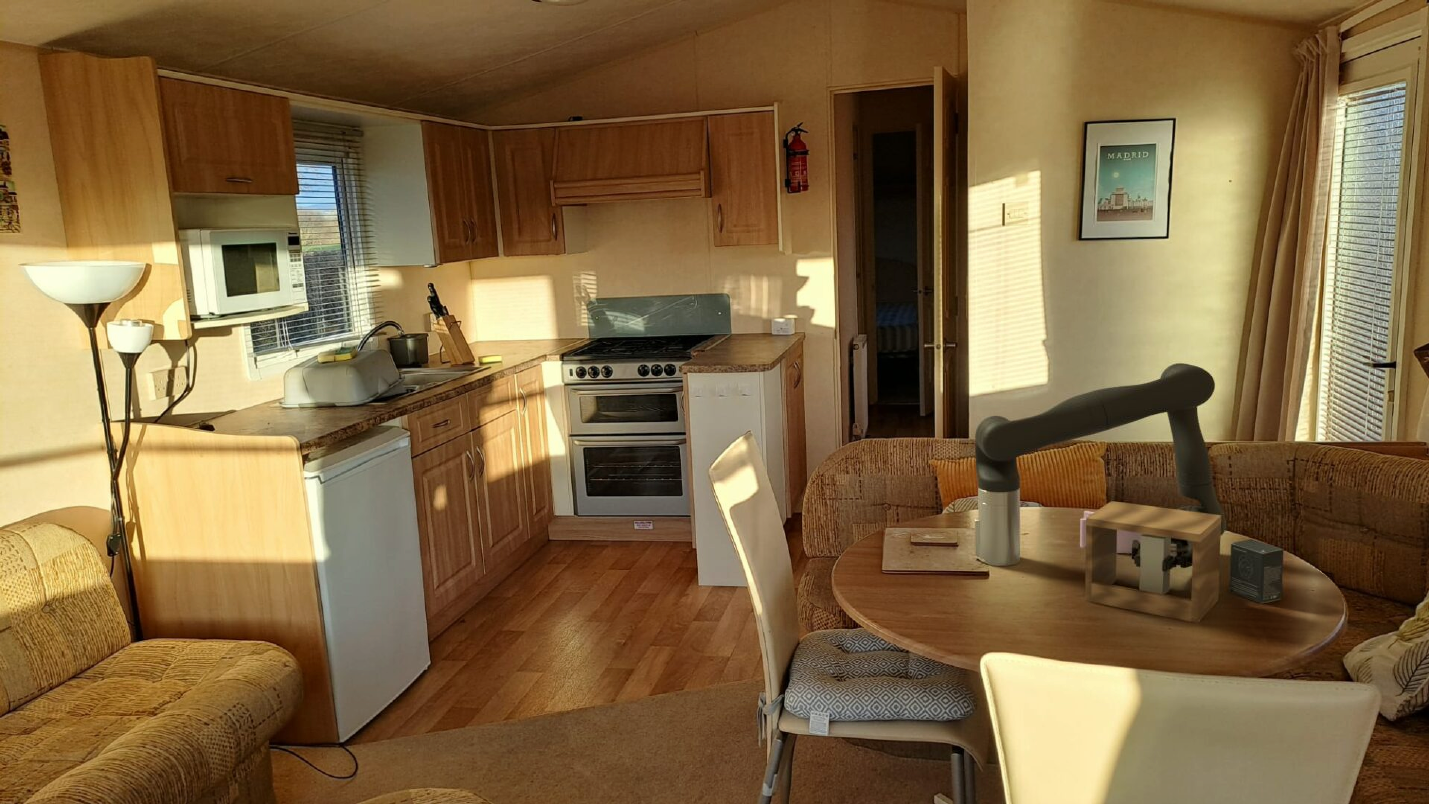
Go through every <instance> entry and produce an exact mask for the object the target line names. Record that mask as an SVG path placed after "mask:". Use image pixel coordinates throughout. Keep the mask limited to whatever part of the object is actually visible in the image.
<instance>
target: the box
mask: <svg viewBox="0 0 1429 804" xmlns="http://www.w3.org/2000/svg"><path fill="white" fill-rule="evenodd" d="M1229 567H1230V568H1229V574H1230V575H1229V592H1230V593H1231V594H1234V595H1236V596H1237V595H1238V596H1241V597H1242V598H1243V597H1244V598H1245V599H1248V600H1251V601H1253V602H1256V603H1259V604H1264V603H1265V604H1267V603H1271V602H1276V601H1280V600H1282V596H1283V595H1282V594H1283V593H1282V592H1283V572H1284V570H1283V569H1284V548H1281V547H1278V546H1275V545H1271V544H1268V543H1264V542H1262V541H1258V540H1254V539H1246V540H1240V541H1235V542H1231V543H1230V566H1229Z"/></svg>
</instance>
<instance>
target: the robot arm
mask: <svg viewBox="0 0 1429 804" xmlns="http://www.w3.org/2000/svg"><path fill="white" fill-rule="evenodd" d="M1215 389H1216V383H1215V380H1214V377H1213V376H1212V374H1211V373H1210V372H1209V371H1208V370H1206V369H1204V368H1202V367H1199V366H1197V365H1194V364H1193V365H1192V364H1189V363H1183V362H1178V363H1173V364H1171V365H1169V366H1167V367H1166V368H1165V369H1164V371H1162V373H1161V375H1160V378H1157V379H1154V380H1152V381H1148V382H1144V383H1139V384H1132V385H1130V384H1129V385H1120V386H1112V387H1111V386H1110V387H1105V388H1100V389H1096V390H1092V391H1088V392H1084V393H1081V394H1078V395H1075V396H1072V397H1069V398H1068V399H1066V400H1063V401H1061V402H1060V403H1058V404H1056V405H1055V406H1053V407H1051V408H1050V409H1048V410H1046V411H1044V412H1041V413H1039V414H1037V415H1033V416H1030V417H1025V418H1020V419H1016V420H1014V419H1013V420H1009V419H1008V418H1006V417H1004V416H1002V415H1001V416H1000V415H991V416H989V417H986V418H984V419H983V420H982V421H980V423H979V424H978V426H977V428H976V431H975V437H974V445H975V446H974V451H975V453H974V454H975V455H974V456H975V457H974V458H975V472H976V473H975V474H976V477H977V501H978V504H977V505H978V506H977V507H978V509H977V510H978V511H977V512H978V514H977V516H978V517H977V518H976V519H975V520H974V557H975V556H977V557H980V558H981V559H984V560H985V562H987V564H986V565H990V566H995V567H1000V566H1001V567H1004V566H1005V567H1006V566H1013V565H1016V564H1019V562H1020V561H1021V478H1020V474H1019V473H1020V472H1019V469H1018V464H1017V458H1019V457H1023V456H1024V455H1026V454H1029V453H1032V452H1034V451H1036V450H1040V449H1042V448H1045V447H1048V446H1051V445H1054V444H1059V443H1064V442H1068V441H1072V440H1075V439H1080V438H1083V437H1087V436H1091V435H1095V434H1100V433H1102V432H1106V431H1108V430H1112V429H1115V428H1118V427H1122V426H1126V425H1128V424H1130V423H1134V422H1137V421H1140V420H1142V419H1145V418H1148V417H1152V416H1155V415H1159V414H1164V413H1166V414H1167V417H1168V422H1169V425H1170V426H1169V427H1170V431H1171V437H1172V441H1173V442H1172V443H1173V448H1174V454H1175V455H1174V456H1175V466H1176V474H1177V475H1176V476H1177V485H1178V491H1179V494H1180V495H1181V496H1182V497H1184V498H1186V499H1187V498H1188V499H1192V500H1195V501H1198V503H1200V504H1201V505H1202V506H1197V505H1195V506H1194V505H1193V506H1192V505H1187V506H1181V507H1179V508H1177V509H1176V510H1183V511H1191V512H1199V513H1206V514H1214V515H1221V537H1222V536H1223V535H1224V533H1225V532H1226V528H1227V519H1226V516H1225V514H1224V511H1223V509H1222V507H1221V505H1220V502H1219V500H1218V497H1217V495H1216V491H1215V488H1214V482H1213V471H1212V464H1211V459H1210V455H1209V451H1208V447H1207V444H1206V442H1205V439H1204V436H1203V434H1202V430H1201V427H1200V422H1199V421H1200V420H1199V413H1198V407H1200V406H1201V405H1203V404H1205V403H1207V401H1208V400H1209V399H1211V398H1212V396H1213V394H1214V392H1215ZM1131 560H1133V562H1134V565H1135V566H1136V567H1138V568H1140V542H1139V541H1138V540H1133V543H1132V553H1131ZM1192 563H1193V541H1189V540H1182V539H1176V538H1171V552H1170V556H1168V557H1167V558H1165V559H1164V560H1163V562H1162V571H1167V570H1170V571H1171V570H1172V569H1173V568H1177V566H1179V567H1180V568H1181V569H1187V568H1190V567H1192Z"/></svg>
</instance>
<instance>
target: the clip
mask: <svg viewBox="0 0 1429 804" xmlns="http://www.w3.org/2000/svg"><path fill="white" fill-rule="evenodd" d="M1094 512H1095V511H1089V510H1085V511H1083V518H1080V519H1079V520H1080V523H1079V524H1080V527H1079V529H1080V534H1079V535H1080V537H1079V540H1080V541H1079V546H1080V548H1082V549H1086V518H1087V517H1088V516H1090V515H1091V514H1093V513H1094ZM1141 535H1142V533H1135V532H1129V531H1122V530H1117V553H1127V554H1132V543H1133V540H1138V541H1139V542H1140V539H1141Z"/></svg>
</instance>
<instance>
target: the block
mask: <svg viewBox="0 0 1429 804" xmlns="http://www.w3.org/2000/svg"><path fill="white" fill-rule="evenodd" d="M1170 552H1171V538H1169V537H1162V536H1155V535H1149V534H1142V535H1141V539H1140V567H1139V589H1138V590H1143V591H1148V592H1154V593H1159V594H1165V595H1167V593H1168V592H1169V591H1170V590H1171V589H1170V587H1171V586H1170V582H1171V569H1170V570H1167V571H1162V562H1163V560H1164V559H1165V558H1167V557H1168V556H1170Z"/></svg>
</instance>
